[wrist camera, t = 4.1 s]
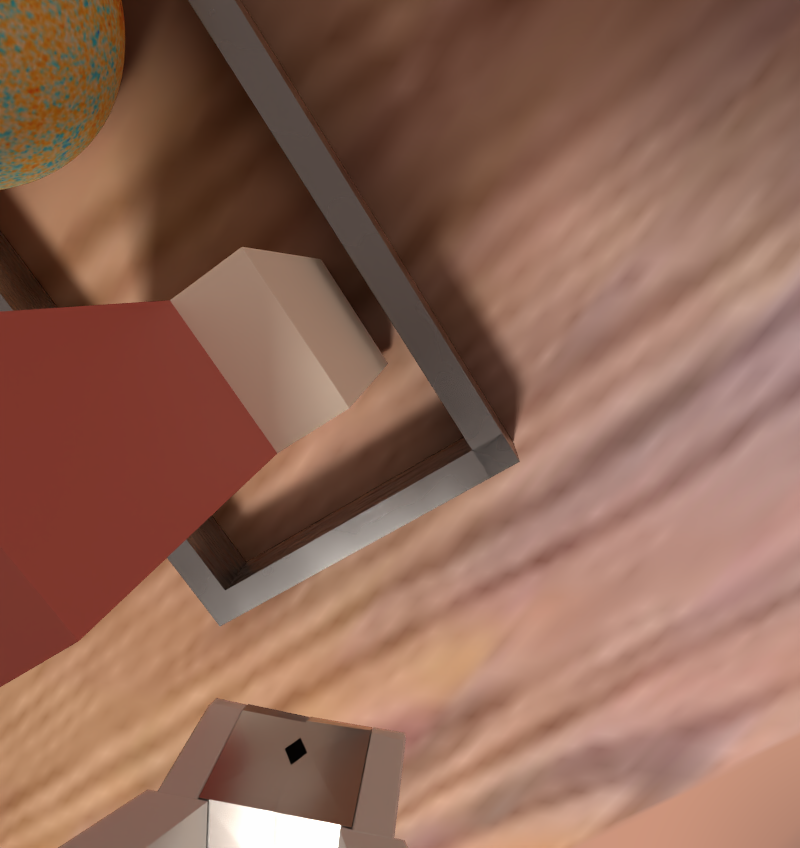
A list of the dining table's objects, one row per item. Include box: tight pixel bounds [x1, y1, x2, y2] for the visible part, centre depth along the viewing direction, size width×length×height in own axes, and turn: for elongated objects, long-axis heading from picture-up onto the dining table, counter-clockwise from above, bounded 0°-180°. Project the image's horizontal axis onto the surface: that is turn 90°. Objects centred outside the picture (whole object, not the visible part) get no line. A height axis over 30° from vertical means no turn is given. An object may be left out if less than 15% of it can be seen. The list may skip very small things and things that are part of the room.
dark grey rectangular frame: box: [0, 0, 520, 626], centre depth 13 cm, size 9×17×2 cm, turn 33°
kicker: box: [0, 247, 388, 687], centre depth 9 cm, size 6×3×10 cm, turn 123°
